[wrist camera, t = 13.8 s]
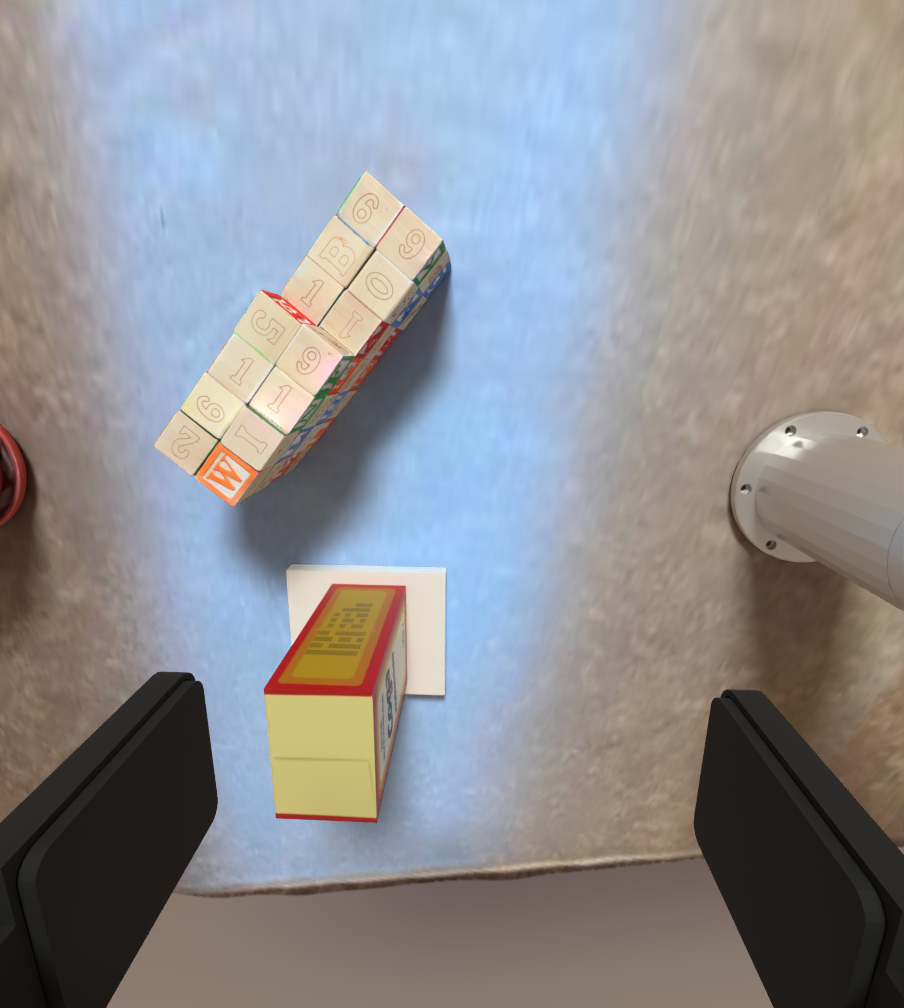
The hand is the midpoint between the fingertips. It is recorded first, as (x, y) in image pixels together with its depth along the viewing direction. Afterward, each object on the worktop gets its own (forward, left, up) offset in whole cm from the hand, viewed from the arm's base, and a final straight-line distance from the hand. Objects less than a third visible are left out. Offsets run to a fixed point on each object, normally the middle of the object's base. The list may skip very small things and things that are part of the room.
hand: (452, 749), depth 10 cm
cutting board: (+9, +17, -36) cm, 41 cm away
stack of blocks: (+11, -8, -37) cm, 39 cm away
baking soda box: (+9, +17, -35) cm, 40 cm away
